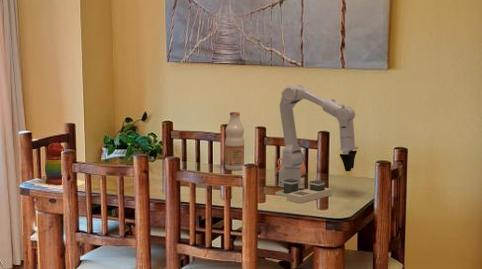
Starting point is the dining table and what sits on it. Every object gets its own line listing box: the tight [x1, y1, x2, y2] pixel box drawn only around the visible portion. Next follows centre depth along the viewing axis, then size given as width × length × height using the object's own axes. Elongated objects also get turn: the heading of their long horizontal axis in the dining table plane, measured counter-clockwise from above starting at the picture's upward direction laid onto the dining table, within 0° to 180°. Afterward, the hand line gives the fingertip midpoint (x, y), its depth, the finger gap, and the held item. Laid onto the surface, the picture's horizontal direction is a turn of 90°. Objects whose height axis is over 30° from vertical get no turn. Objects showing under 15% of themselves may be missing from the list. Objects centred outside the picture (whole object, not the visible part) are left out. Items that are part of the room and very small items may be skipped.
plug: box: [283, 179, 299, 194], centre depth 284 cm, size 4×4×6 cm
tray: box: [274, 189, 287, 198], centre depth 285 cm, size 9×9×2 cm
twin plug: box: [309, 179, 326, 192], centre depth 282 cm, size 4×4×6 cm
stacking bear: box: [44, 141, 66, 186], centre depth 306 cm, size 11×10×18 cm
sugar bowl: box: [275, 157, 307, 177], centre depth 325 cm, size 12×14×10 cm
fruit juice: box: [224, 111, 245, 171], centre depth 340 cm, size 9×9×28 cm
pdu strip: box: [286, 187, 333, 204], centre depth 279 cm, size 7×20×3 cm, turn 136°
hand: (349, 169), depth 285 cm, fingers open, 7 cm apart
